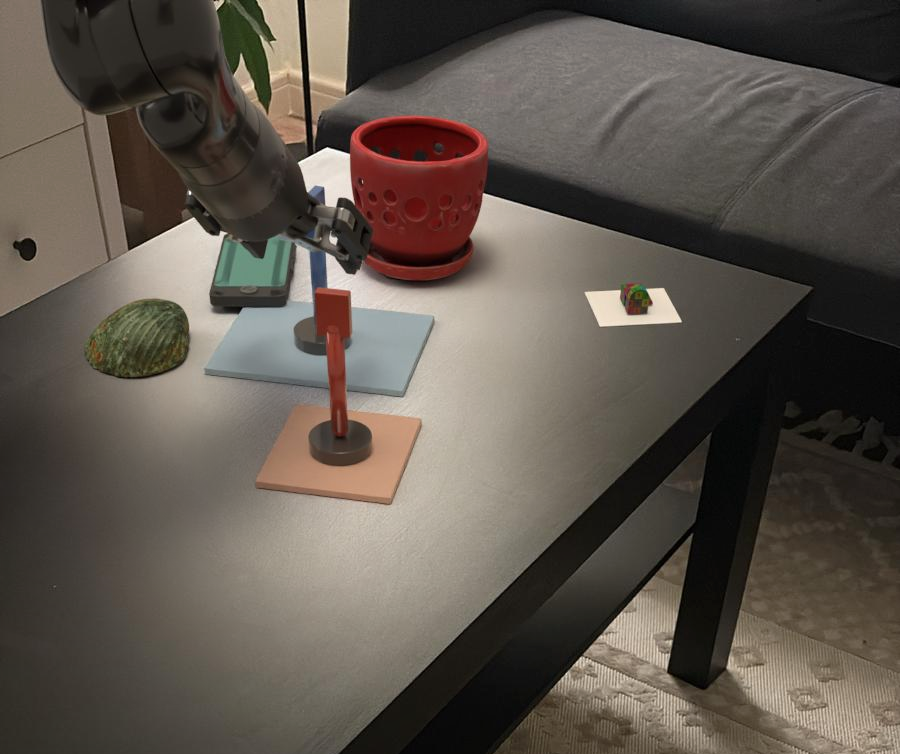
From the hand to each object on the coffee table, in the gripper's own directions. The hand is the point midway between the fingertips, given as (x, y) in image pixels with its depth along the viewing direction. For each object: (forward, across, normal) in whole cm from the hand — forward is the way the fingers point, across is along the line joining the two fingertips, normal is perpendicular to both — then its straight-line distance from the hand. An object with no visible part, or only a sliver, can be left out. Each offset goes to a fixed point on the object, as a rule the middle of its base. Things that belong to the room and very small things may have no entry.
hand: (308, 255), depth 110 cm
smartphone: (+15, +11, -2) cm, 19 cm away
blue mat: (+8, 0, +5) cm, 9 cm away
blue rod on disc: (+7, 0, +5) cm, 9 cm away
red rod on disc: (-4, -8, +16) cm, 19 cm away
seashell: (+3, +15, +10) cm, 18 cm away
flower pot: (+22, -3, -8) cm, 23 cm away
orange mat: (-4, -8, +17) cm, 19 cm away
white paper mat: (+20, -25, -7) cm, 33 cm away
